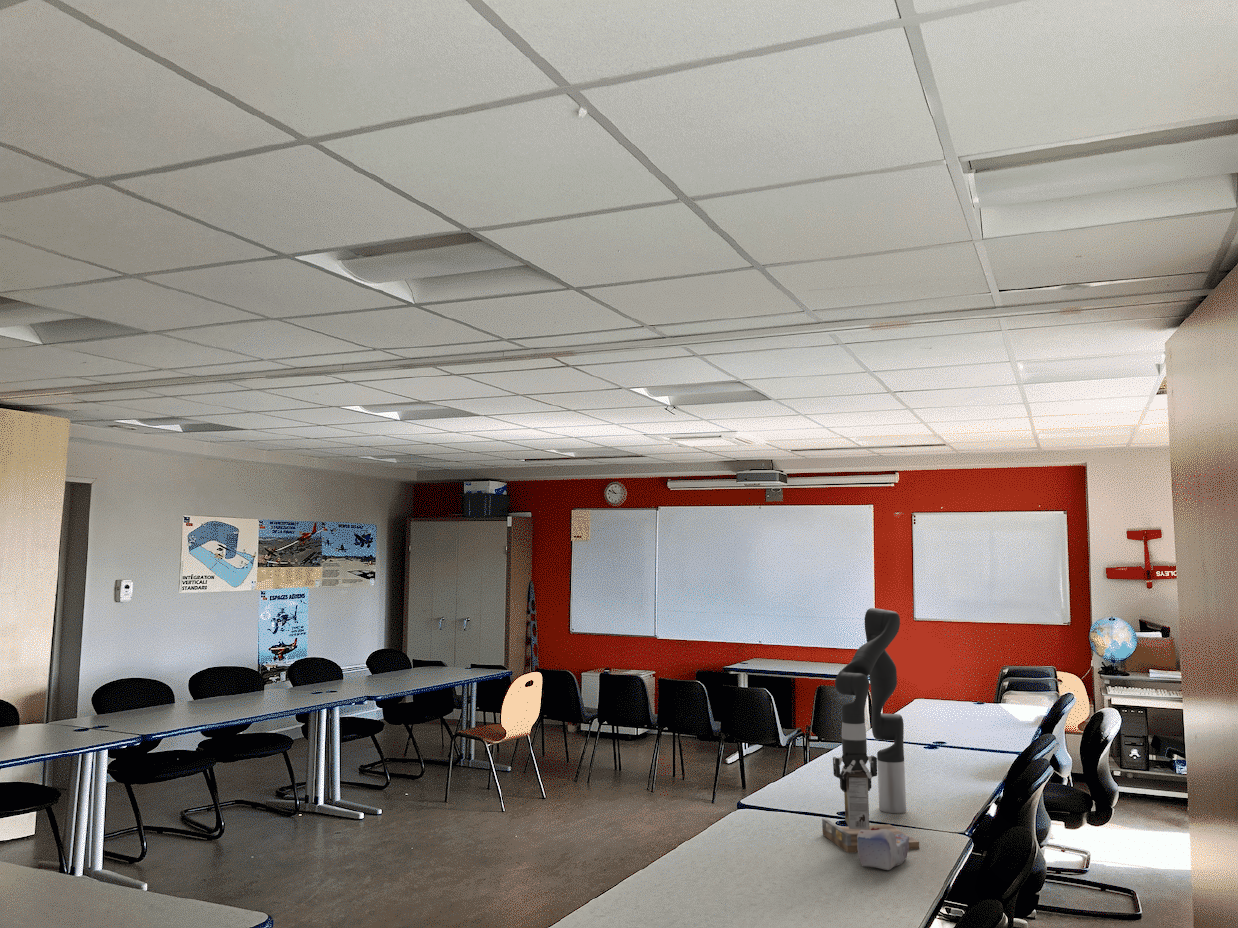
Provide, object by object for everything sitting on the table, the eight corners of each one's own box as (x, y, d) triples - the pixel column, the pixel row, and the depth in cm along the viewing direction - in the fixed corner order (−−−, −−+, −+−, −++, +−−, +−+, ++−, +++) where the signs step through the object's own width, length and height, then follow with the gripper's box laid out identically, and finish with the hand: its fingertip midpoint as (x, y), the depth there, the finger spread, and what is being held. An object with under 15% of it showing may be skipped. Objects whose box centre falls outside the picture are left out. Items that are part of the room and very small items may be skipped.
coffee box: (844, 820, 296) (842, 768, 297) (865, 821, 295) (863, 768, 297) (848, 828, 287) (846, 774, 288) (870, 829, 286) (868, 775, 288)
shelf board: (821, 834, 299) (821, 818, 299) (889, 830, 302) (889, 814, 303) (846, 852, 279) (846, 835, 280) (919, 848, 283) (918, 831, 283)
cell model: (852, 829, 265) (865, 814, 283) (853, 869, 263) (867, 851, 281) (899, 834, 259) (910, 819, 277) (901, 875, 258) (911, 856, 276)
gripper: (837, 739, 289) (839, 794, 287) (880, 738, 291) (882, 792, 289) (827, 735, 296) (829, 789, 294) (870, 734, 299) (872, 787, 297)
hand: (856, 790), depth 292 cm, fingers closed on coffee box, 7 cm apart
